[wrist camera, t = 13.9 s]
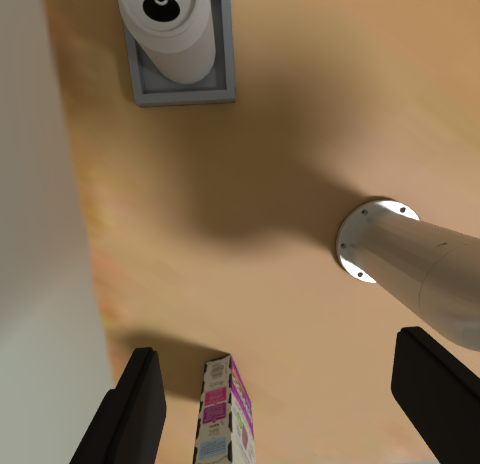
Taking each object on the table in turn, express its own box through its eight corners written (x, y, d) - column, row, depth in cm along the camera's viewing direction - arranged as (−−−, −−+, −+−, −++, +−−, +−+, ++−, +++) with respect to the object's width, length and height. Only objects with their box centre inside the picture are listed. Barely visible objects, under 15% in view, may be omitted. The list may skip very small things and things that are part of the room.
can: (153, 84, 32) (110, 40, 20) (152, 11, 30) (104, -83, 18) (214, 89, 32) (207, 49, 21) (217, 18, 30) (211, -69, 19)
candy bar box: (202, 362, 44) (188, 476, 28) (231, 353, 43) (232, 463, 28) (225, 410, 46) (223, 539, 31) (251, 402, 46) (264, 528, 30)
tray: (229, -11, 30) (229, -24, 28) (235, 102, 33) (235, 98, 31) (124, -7, 30) (116, -20, 28) (140, 107, 33) (135, 103, 31)
